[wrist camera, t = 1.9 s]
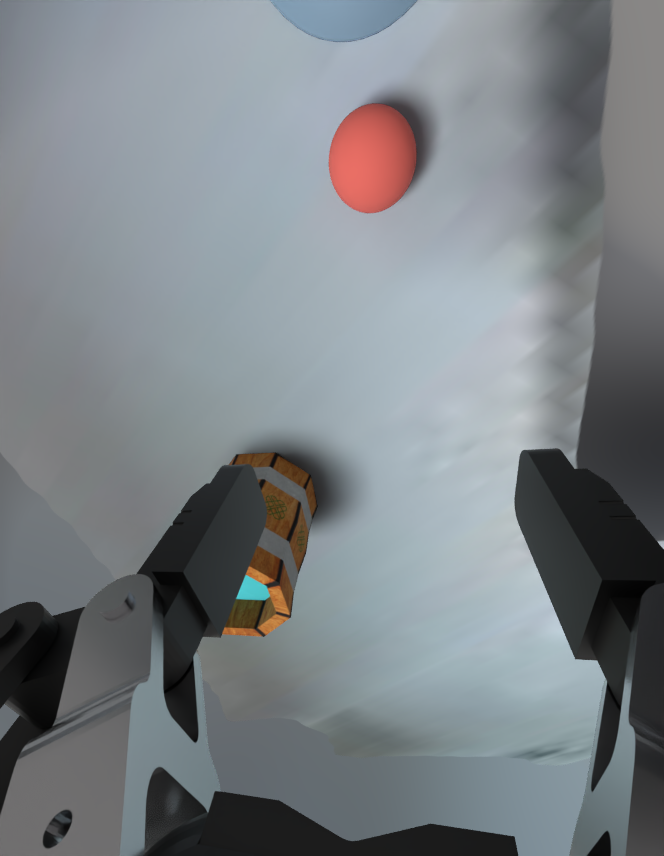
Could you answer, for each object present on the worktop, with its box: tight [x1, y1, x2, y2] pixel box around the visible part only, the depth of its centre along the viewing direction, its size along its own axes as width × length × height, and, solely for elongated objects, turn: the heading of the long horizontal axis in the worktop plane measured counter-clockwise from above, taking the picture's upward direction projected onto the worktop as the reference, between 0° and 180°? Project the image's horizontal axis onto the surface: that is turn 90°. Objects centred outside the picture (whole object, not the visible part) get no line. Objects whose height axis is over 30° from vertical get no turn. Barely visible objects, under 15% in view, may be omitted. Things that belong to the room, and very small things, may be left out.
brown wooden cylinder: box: [222, 453, 318, 637], centre depth 41 cm, size 20×14×15 cm
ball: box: [329, 104, 417, 213], centre depth 24 cm, size 6×6×6 cm
